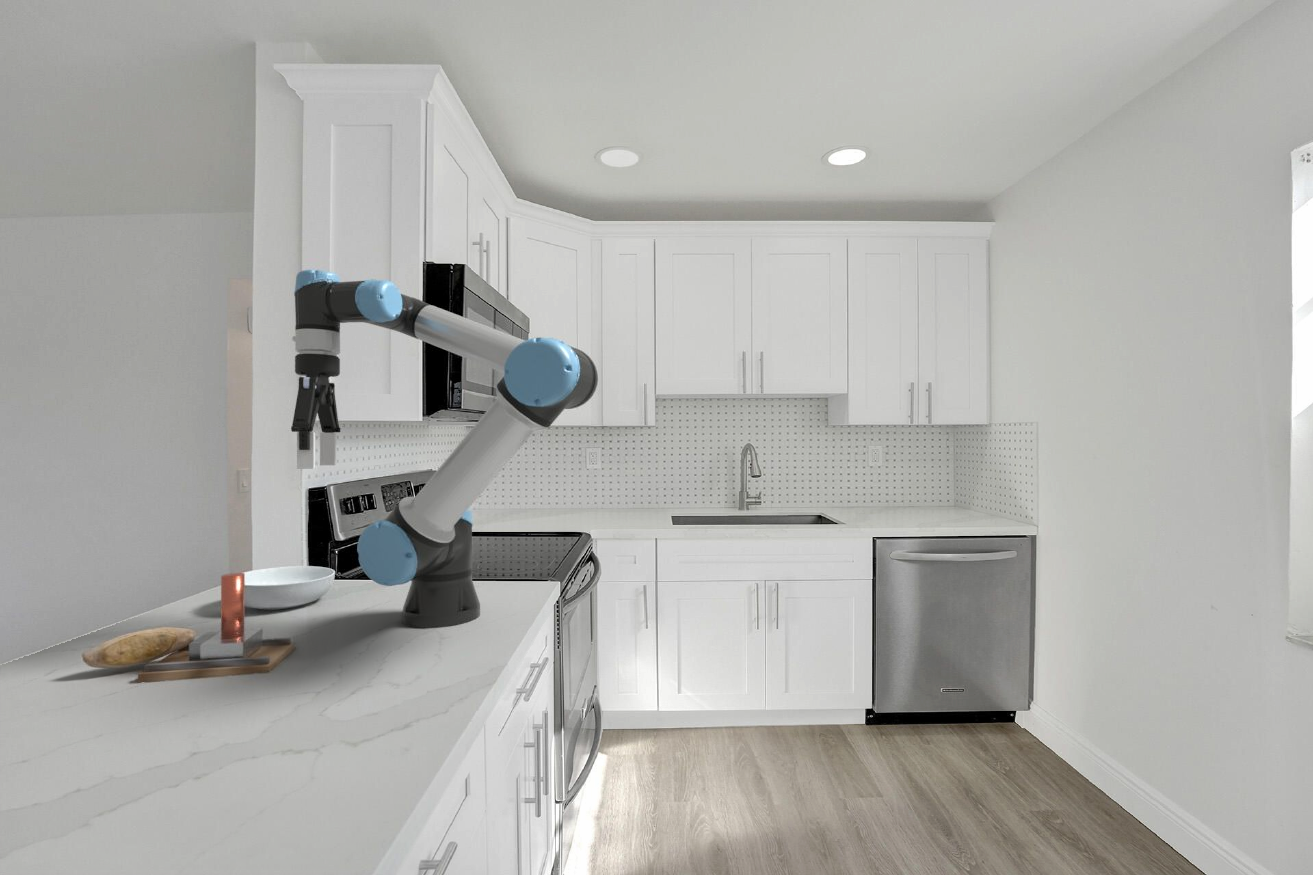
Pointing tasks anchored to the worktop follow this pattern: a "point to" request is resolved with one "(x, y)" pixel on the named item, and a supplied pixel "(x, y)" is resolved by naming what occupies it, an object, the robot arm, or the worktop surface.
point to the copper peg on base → (228, 627)
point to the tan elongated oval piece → (138, 647)
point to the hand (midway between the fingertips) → (317, 467)
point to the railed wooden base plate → (217, 663)
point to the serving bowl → (286, 586)
